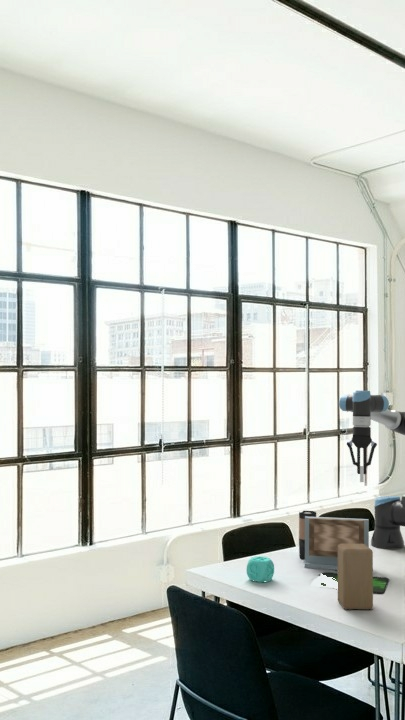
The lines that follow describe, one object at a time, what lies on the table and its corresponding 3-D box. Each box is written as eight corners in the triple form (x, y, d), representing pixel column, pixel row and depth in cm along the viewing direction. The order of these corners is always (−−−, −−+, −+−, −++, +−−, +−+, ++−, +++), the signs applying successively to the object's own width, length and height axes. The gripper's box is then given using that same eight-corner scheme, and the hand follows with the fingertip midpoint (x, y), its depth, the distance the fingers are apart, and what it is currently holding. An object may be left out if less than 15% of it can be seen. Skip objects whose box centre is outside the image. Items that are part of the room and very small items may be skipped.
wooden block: (365, 601, 236) (365, 543, 237) (373, 610, 226) (373, 549, 227) (337, 601, 236) (336, 543, 237) (343, 610, 226) (343, 549, 227)
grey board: (368, 566, 284) (368, 517, 285) (369, 571, 276) (368, 521, 277) (305, 562, 289) (305, 515, 290) (304, 567, 281) (304, 518, 282)
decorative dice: (274, 579, 263) (274, 558, 264) (264, 583, 257) (264, 562, 257) (256, 575, 268) (256, 555, 268) (246, 580, 261) (246, 559, 261)
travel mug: (317, 560, 293) (317, 513, 294) (299, 560, 293) (300, 513, 294) (315, 556, 300) (315, 510, 301) (297, 556, 301) (297, 510, 301)
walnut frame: (363, 557, 276) (363, 520, 277) (364, 558, 274) (364, 521, 275) (309, 554, 280) (309, 517, 281) (308, 555, 278) (309, 518, 279)
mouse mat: (308, 587, 254) (308, 584, 254) (319, 572, 274) (319, 570, 274) (383, 595, 244) (383, 592, 244) (389, 580, 265) (389, 577, 265)
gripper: (346, 426, 289) (346, 482, 288) (377, 427, 286) (378, 483, 285) (346, 425, 296) (346, 480, 295) (376, 426, 294) (377, 481, 293)
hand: (361, 481), depth 290 cm, fingers closed
